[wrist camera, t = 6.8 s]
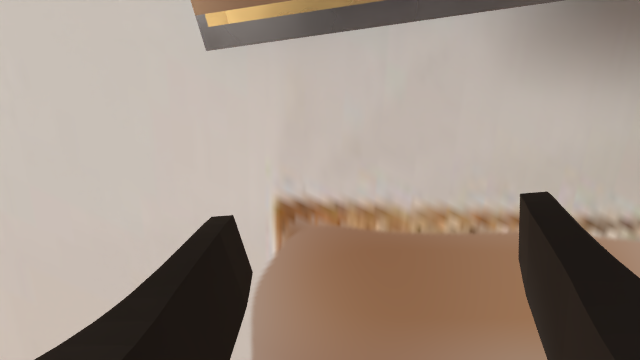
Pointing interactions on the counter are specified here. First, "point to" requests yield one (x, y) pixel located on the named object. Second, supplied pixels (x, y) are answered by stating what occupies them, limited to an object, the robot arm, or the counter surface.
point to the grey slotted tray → (329, 18)
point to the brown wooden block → (226, 5)
